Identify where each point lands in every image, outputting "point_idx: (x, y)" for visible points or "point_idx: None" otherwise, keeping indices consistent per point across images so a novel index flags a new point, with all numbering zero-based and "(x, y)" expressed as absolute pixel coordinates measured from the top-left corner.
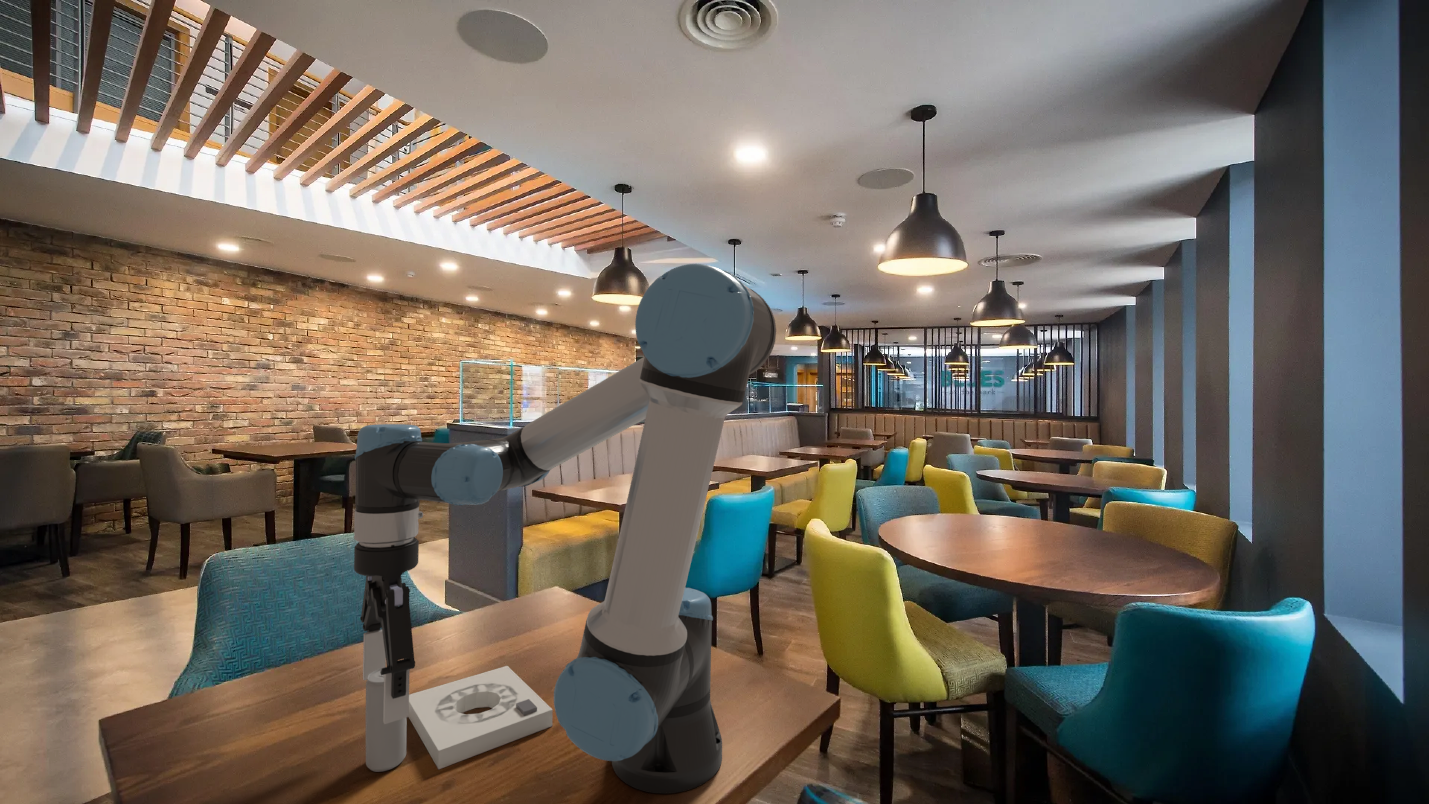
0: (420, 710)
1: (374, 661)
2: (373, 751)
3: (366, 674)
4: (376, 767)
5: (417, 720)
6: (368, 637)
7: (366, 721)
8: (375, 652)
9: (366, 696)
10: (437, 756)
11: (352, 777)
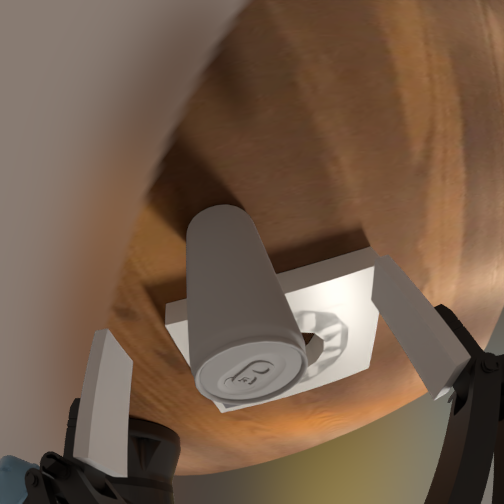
0: (318, 290)
1: (396, 311)
2: (192, 237)
3: (382, 273)
4: (188, 226)
5: (300, 282)
6: (445, 363)
7: (216, 255)
8: (409, 333)
9: (226, 300)
10: (172, 314)
11: (196, 182)
